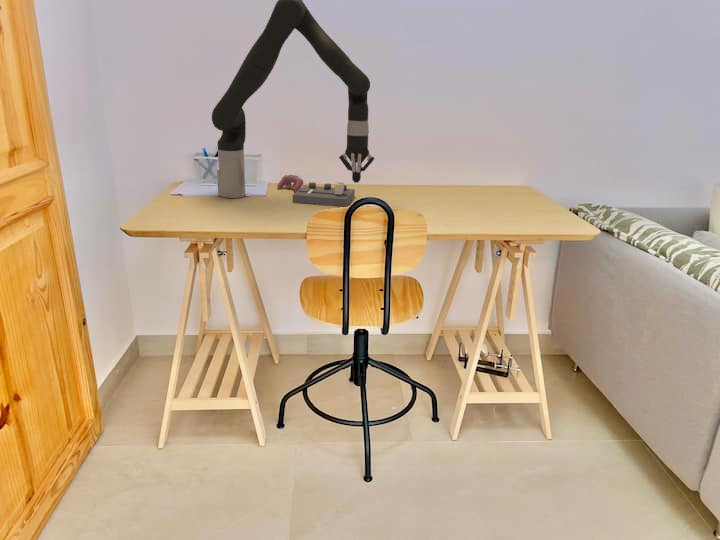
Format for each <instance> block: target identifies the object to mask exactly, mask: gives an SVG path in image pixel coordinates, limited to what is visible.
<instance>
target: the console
mask: <svg viewBox="0 0 720 540" xmlns="http://www.w3.org/2000/svg"><path fill="white" fill-rule="evenodd" d="M347 187H348V186H347V184H344V192H343V193H342V195H340V194H335V187H332V184H331V183H324V185H323V186H321V185H320V186H317V183H316V182H308V185H304V184H303V185H302V186H301V188H300V189H299V190H298V191H297V192H296V193H295V192H294V193H293V194H292V203H295V204H306V205H316V204H319V205H320V206H329V205H333V206H332V207H341V206H347V207H348V206H350V203H351V202H352V201H353V199H355V195H356V194H355V193H356V189H355V188H347Z"/></svg>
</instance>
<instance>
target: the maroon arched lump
mask: <svg viewBox="0 0 720 540" xmlns="http://www.w3.org/2000/svg"><path fill="white" fill-rule="evenodd" d="M303 186H304V180H303V179H302V177H299V175H295V174H285V175H284V176H282V178H281V179H280V181H279V182H278V183H277V189H278V190H281V189H282V188H283V187H285V188H286V189H287V190H290V189H292V190H293V191H294V194H295V193H296V192H297V191H298V190H299V189H300V188H302V187H303Z"/></svg>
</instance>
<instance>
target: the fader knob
mask: <svg viewBox="0 0 720 540" xmlns="http://www.w3.org/2000/svg"><path fill="white" fill-rule="evenodd" d="M344 185H345V182H343V181H337V182H335V184H334V188H335V194H340V195H342V193H343V192H344Z"/></svg>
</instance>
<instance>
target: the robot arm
mask: <svg viewBox="0 0 720 540" xmlns="http://www.w3.org/2000/svg"><path fill="white" fill-rule="evenodd" d="M295 30H297V32H299V33H300V34H301V35H302V36H303V37H304V38H305V39H306V41H307V42H308V43H309V44H310V45H311V47H312V48H313V50H314V51H315V53H316V54H317V56H318V57H319V58H320V60H321V61H322V62H323V63H324V64H325V65H326V67H328V68H329V70H330V71H332V73H334V74H335V76H337V77H338V78H339V79H340V80H341V81H342V82H343V84H345V85H346V87H347V93H348V95H347V96H348V97H347V98H348V99H347V100H348V110H347V111H348V112H347V124H346V125H347V126H346V149H345V152H344V153H343V154H341V155H340V156H339V157H338V158H339V160H340V161H341V162H342V164H343V165H344V167H345V168H346V170H347V171H349V172H350V171H351V172H352V173H351V174H352V175H351V176H352V179H351V180H352V182H353V183H357V184H358V183H359V182H361V178H362V177H361V174H362V173H361V172H365V171H366V170H367V168H368V167H369V166H370V165H372V163H373V161H374V160H375V156H373V155H371V154H370V150H369V133H370V130H369V129H370V128H369V105H368V92H369V91H370V88H371V82H370V79H369V77H368V76H367V75H366V74H365V73H364V72H363V71H362V70H361V68H359V67H358V66H357V65H356V64H355V63H354V62H353V61H352V60H351V58H350V57H349V56H348V55H347V54H346V53H345V51H343V49H342V48H341V47H340V46H339V45H338V44H337V43H336V42H335V41H334V40H333V39H332V37H330V35H329V34H327V32H326V31H325V30H324V29H323V28H322V27H321V25H320V24H319V23H318V22H317V20H316V19H315V17H314V16H313V15H312V13H311V12H310V10H309V9H308V8H307V6H306V4H305V3H304V1H303V0H277V2H276V3H275V5H274V7H273V10H272V12H271V14H270V17H269V19H268V22H267V23H266V25H265V27H264V30H263V31H262V33H260V35H259V36H258V38H257V39H256V41H255V42H254V44H253V45H252V47H251V48H250V50H249V52H248V53H247V55H246V56H245V58H244V60H243V62H242V63H241V66H240V67H239V69H238V71H237V72H236V74H235V76H234V78H233V79H232V81H231V84H230V85H229V87H228V88H227V90H226V91H225V93H224V94H223V96H221V99H220V100H219V101H218V102H217V103H216V105H215V106H214V108H213V110H212V112H211V122H212V125H213V127H214V128H216V129H217V130H218V131H221V132H222V133H221V137H220V138H219V139H218V141H217V156H218V157H217V158H218V169H217V170H216V179H217V180H216V181H217V193H218V194H217V197H222V198H224V199H226V198H228V199H238V198H239V199H240V198H243V197H245V196H246V179H245V178H246V174H245V173H246V172H245V171H246V170H245V169H246V168H245V151H244V150H245V145H244V144H245V142H246V134H247V133H246V131H247V130H246V129H247V127H246V115H245V111H244V109H243V106H244V105H245V103H246V102H247V101H248V100H249V99H250V98H251V97H252V96H253V95H254V94H255V93H256V92H257V91H258V90H259V89H260V88H261V87H262V86H263V85H264V84H265V82H266V80H267V79H268V78H269V76H270V74H271V73H272V71H273V69H274V67H275V65H276V64H277V61H278V58H279V55H280V53H281V50H282V48H283V46H284V44H285V42H286V41H287V39H288V38H289V37H290V35H291V34H292V33H293V31H295ZM348 159H349V161H348ZM366 159H367V160H366ZM365 160H366V161H367V162H366V163H365V164H364V165H363V162H365ZM350 162H351V163H350Z"/></svg>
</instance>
